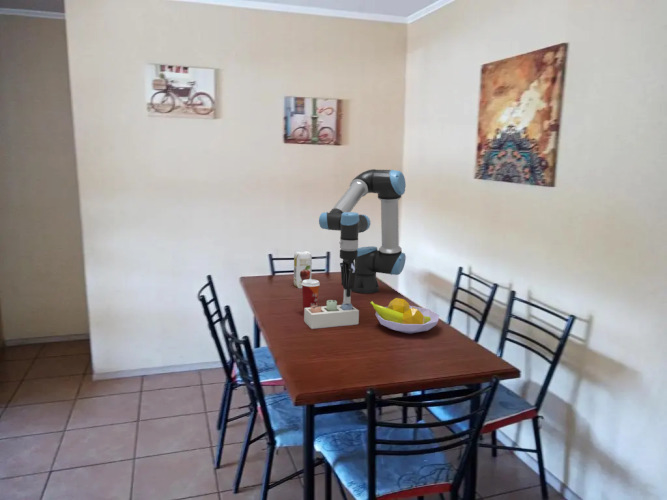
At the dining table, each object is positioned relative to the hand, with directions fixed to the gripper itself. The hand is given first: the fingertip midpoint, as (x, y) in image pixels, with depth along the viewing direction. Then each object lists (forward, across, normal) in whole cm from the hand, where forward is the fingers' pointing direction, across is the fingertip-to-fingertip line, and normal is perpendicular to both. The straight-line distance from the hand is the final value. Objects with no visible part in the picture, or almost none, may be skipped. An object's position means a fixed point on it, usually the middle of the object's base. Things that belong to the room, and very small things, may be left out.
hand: (346, 303), depth 219 cm
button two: (+5, 0, -7) cm, 8 cm away
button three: (+7, 0, -14) cm, 15 cm away
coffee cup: (+8, -15, -11) cm, 21 cm away
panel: (+8, 0, -7) cm, 11 cm away
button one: (+6, 0, 0) cm, 6 cm away
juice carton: (+8, -61, 0) cm, 62 cm away
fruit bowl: (+8, +14, +21) cm, 26 cm away
